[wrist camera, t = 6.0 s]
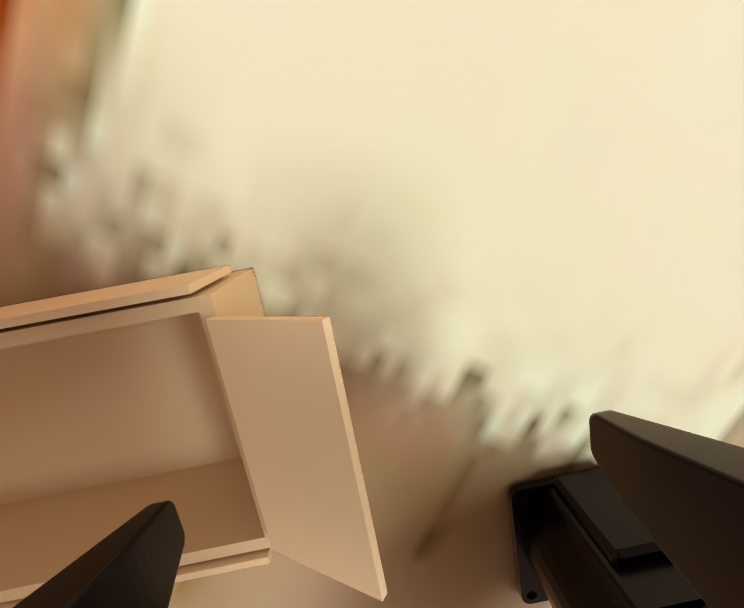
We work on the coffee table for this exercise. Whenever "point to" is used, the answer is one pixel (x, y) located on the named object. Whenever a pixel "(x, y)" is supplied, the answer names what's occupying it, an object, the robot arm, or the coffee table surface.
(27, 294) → the coffee table surface
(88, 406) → the carton
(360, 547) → the inner flap
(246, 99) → the coffee table surface
